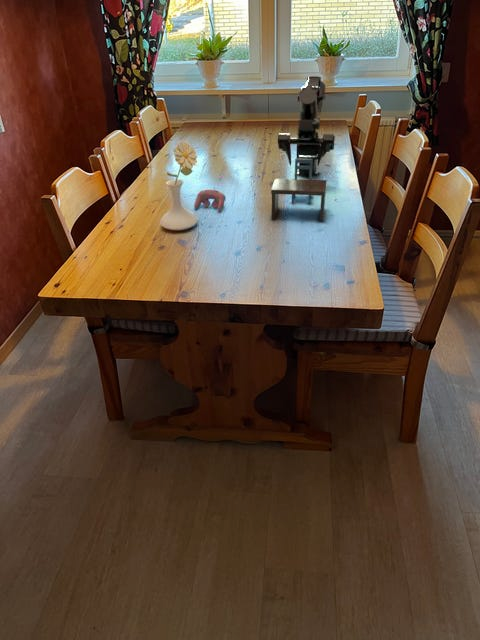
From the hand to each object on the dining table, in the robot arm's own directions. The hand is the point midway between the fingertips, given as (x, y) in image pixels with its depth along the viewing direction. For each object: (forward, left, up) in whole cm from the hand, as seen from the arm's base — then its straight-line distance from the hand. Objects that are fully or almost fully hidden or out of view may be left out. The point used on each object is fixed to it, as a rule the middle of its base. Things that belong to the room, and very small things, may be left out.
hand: (304, 165), depth 165 cm
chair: (+4, +3, -10) cm, 11 cm away
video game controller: (+29, -15, -11) cm, 34 cm away
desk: (+14, +10, -10) cm, 20 cm away
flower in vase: (+44, -11, -11) cm, 47 cm away
